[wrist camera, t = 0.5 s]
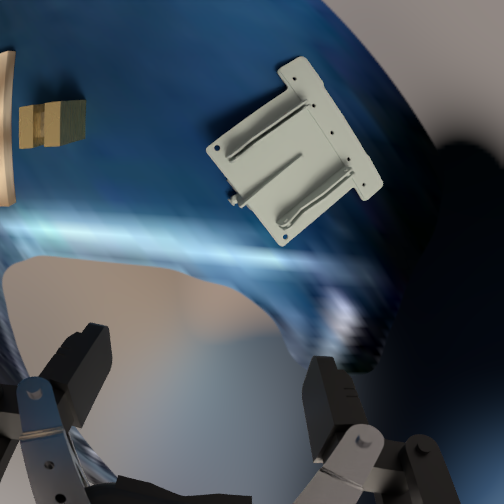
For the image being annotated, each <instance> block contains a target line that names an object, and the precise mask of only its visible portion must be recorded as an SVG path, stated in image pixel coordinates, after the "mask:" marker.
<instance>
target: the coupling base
mask: <svg viewBox="0 0 504 504" xmlns="http://www.w3.org/2000/svg"><path fill="white" fill-rule="evenodd" d="M15 54H16V52H15V51H6V52H3V53H0V206H10V205H12V204H14V203H16V198H15V188H14V178H13V165H12V144H11V105H12V85H13V72H14V62H15Z"/></svg>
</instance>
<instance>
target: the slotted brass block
mask: <svg viewBox="0 0 504 504" xmlns="http://www.w3.org/2000/svg"><path fill="white" fill-rule="evenodd" d="M85 116H86V100H71V101H58V102H50V103H45V104H38V105H30V106H24V107H19V147H20V149H24V148H34V147H37V146H40V145H44V147H52V146H62V145H65V144H68V143H72V142H75V141H78V140H82V139H85Z"/></svg>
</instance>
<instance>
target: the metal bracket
mask: <svg viewBox="0 0 504 504" xmlns="http://www.w3.org/2000/svg"><path fill="white" fill-rule="evenodd" d="M277 73H278V75H279V76H280V77H281V79H282V80H283V81H284V83H285V84H286V85H287V90H286V91H285V92H283V93H282V94H280V95H279V96H277V97H276V98H274V99H273V100H271V101H270V102H268V103H267V104H265V105H264V106H262V107H261V108H260V109H258V110H257V111H255V112H254V113H252V114H251V115H250V116H248V117H247V118H245V119H244V120H243V121H241V122H240V123H239V124H237V125H236V126H235V127H233V128H232V129H230V130H229V131H228V132H226V133H225V134H224V135H222V136H221V137H220V138H218V139H217V140H216V141H215V142H213V143H212V144H211V145H209V146H208V147H207V148H206V152H207V154H208V155H209V156H210V158H211V159H212V160H213V161H214V163H215V164H216V165H217V166H218V168H219V169H220V170H221V171H222V173H223V174H224V175H225V176H226V178H227V181H228V182H229V184H230V185H231V186H232V187H233V189H234V190H235V191H236V193H237V194H235V195H233V196H232V197H231V199H228V200H229V202H230V203H231V204H232V205H233V206H234V204H235V203H238V205H239V207H240V208H242V207H244V206H245V205H247V207H248V208H249V209H250V210H252V211H253V212H254V213H255V215H256V216H257V217H258V219H259V220H260V221H261V222H262V224H263V225H264V226H265V228H266V229H267V230H268V232H269V233H270V234H271V235H272V237H273V238H274V239H275V241H276V242H277V243H278V245H280V246H284V245H286V244H287V243H288V242H289V241H290V240H291V239H293V238H294V237H295V236H296V235H297V234H299V233H300V232H301V231H302V230H303V229H304V228H306V227H307V226H308V225H309V224H310V223H312V222H313V221H314V220H315V219H316V218H317V217H319V216H320V215H321V214H322V213H323V212H325V211H326V210H327V209H328V208H329V207H330V206H332V205H333V204H334V203H335V202H336V201H337V200H339V199H340V198H341V197H342V196H343V195H344V194H346V193H347V192H348V191H349V190H350V189H351V188H355V189H356V191H357V193H358V194H359V196H360V198H361V199H362V200H363V201H365V200H368V199H369V198H370V197H371V196H372V195H374V194H375V193H376V192H377V191H378V190H379V189H380V188H381V187H382V186H383V182H382V180H381V178H380V176H379V174H378V172H377V170H376V168H375V166H374V165H373V163H372V161H371V159H370V157H369V156H368V155H367V154H366V152H365V151H364V149H363V147H362V146H361V144H360V142H359V141H358V139H357V137H356V136H355V134H354V132H353V131H352V129H351V128H350V126H349V124H348V123H347V121H346V120H345V118H344V116H343V115H342V113H341V112H340V110H339V109H338V107H337V106H336V104H335V103H334V101H333V100H332V98H331V97H330V95H329V94H328V92H327V91H326V89H325V88H324V86H323V85H324V83H323V82H322V80H321V79H320V77H319V76H318V74H317V73H316V72H315V70H314V69H313V67H312V66H311V65H310V63H309V62H308V60H307V59H306V58H304V57H302V56H300V57H298V58H296V59H295V60H293V61H291V62H290V63H288V64H286V65H285V66H283V67H281V68H280V69H279V70H278V71H277ZM293 77H295V78H296V80H295V81H294V80H293ZM312 104H314V105H315V107H312ZM331 131H333V134H332V135H331V133H330V132H331ZM215 145H219V146H220V150H219V151H215V150H214V147H215ZM348 157H349V159H350V160H349V161H348V160H347V158H348ZM363 183H364V184H365V185H364V186H362V184H363ZM284 234H287V236H288V237H287V239H283V235H284Z"/></svg>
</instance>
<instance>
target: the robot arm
mask: <svg viewBox="0 0 504 504" xmlns="http://www.w3.org/2000/svg"><path fill="white" fill-rule="evenodd" d="M111 365H112V351H111V342H110V333H109V328H108V326H104V325H100V324H95V323H89V324H88V325H87V326H86V328H85V329H84V330H83V332H82V333H79V332H76V333H74V334H72V335H71V336H69V337H68V338H67V339H66V340H65V341H64V342H63V344H62V345H61V348H59V349H58V350H57V352H56V354H55V355H54V356H53V357H52V358H51V360H50V361H49V362H48V364H47V365H46V367H45V368H44V370H43V371H42V372H41V374H40V375H39V376H38V377H29V378H26V379H24V380H23V381H21V382H20V383H19V385H18V386H15V385H5V384H0V482H1V479H2V477H3V475H4V472H5V470H6V468H7V466H8V463H9V461H10V459H11V457H12V455H13V452H14V450H15V448H16V446H17V444H18V442H19V440H20V444H21V449H22V453H23V457H24V462H25V466H26V470H27V474H28V478H29V481H30V485H31V488H32V492H33V495H34V498H35V501H36V504H252V496H241V495H227V494H209V495H196V496H181V495H178V494H175V493H172V492H170V491H168V490H165V489H163V488H160V487H158V486H156V485H154V484H152V483H149V482H144V481H140V480H136V479H132V478H127V477H124V476H120V475H118V478H117V481H116V483H113V482H112V483H100V484H95V485H92V486H90V485H89V483H88V480H87V478H86V476H85V474H84V472H83V469H82V467H81V464H80V462H79V459H78V457H77V454H76V451H75V448H74V446H73V443H72V440H71V437H70V434H69V430H70V428H71V426H75V427H79V428H82V426H83V424H84V422H85V420H86V418H87V416H88V414H89V412H90V410H91V408H92V405H93V404H94V401H95V399H96V397H97V395H98V393H99V391H100V389H101V387H102V385H103V383H104V381H105V379H106V377H107V375H108V374H109V372H110V369H111ZM302 400H303V406H304V412H305V417H306V423H307V428H308V433H309V439H310V445H311V451H312V457H313V462H314V463H323V464H324V465H323V467H322V468H320V470H319V471H318V472H317V474H316V475H315V476H314V478H313V479H312V480H311V481H310V483H309V484H308V485H307V486H306V488H305V489H304V490H303V492H302V493H301V494H300V495H299V497H298V498H297V499H296V500H295V501H294V503H293V504H356V502H357V500H358V499H359V497H360V495H361V494H362V492H363V491H369V492H374V495H375V500H376V504H460V501H459V498H458V495H457V493H456V490H455V487H454V485H453V482H452V479H451V477H450V474H449V471H448V469H447V466H446V464H445V461H444V459H443V456H442V454H441V452H440V449H439V447H438V445H437V443H436V442H435V441H434V440H433V439H432V438H430V437H428V436H425V435H414V436H412V437H410V438H409V439H408V440H407V441H406V443H403V442H396V441H391V440H386V439H384V438H383V436H382V434H381V433H380V432H379V431H378V430H377V429H376V428H374V427H372V426H370V425H369V424H368V421H367V418H366V416H365V413H364V410H363V407H362V404H361V402H360V399H359V398H358V394H357V391H356V390H355V386H354V383H353V380H352V378H351V377H350V376H349V375H348V374H347V373H346V372H345V371H344V370H337V367H336V364H335V361H334V358H333V357H327V356H313V357H312V359H311V362H310V365H309V368H308V371H307V375H306V378H305V380H304V383H303V388H302Z"/></svg>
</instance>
